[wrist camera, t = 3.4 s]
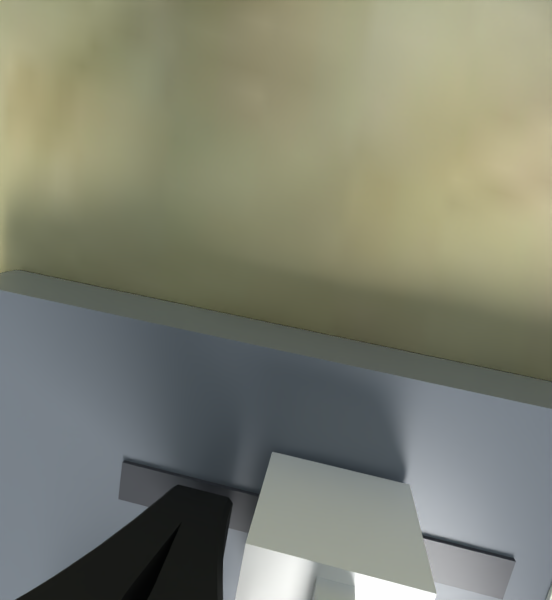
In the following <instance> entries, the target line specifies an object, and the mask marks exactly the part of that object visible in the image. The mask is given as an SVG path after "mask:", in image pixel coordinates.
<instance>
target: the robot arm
mask: <svg viewBox="0 0 552 600" xmlns="http://www.w3.org/2000/svg"><path fill="white" fill-rule="evenodd" d="M232 506H233V503H232V501H231V500H230V498H229V497H226V496H222V495H218V494H214V493H210V492H206V491H202V490H198V489H194V488H191V487H187V486H183V485H179V484H178V485H176V486H174V487H173V488H171V489H170V490H169V491H168V492H166V493H165V494H164V495H163V496H162V497H160V498H159V499H158V500H157V501H156V502H154V503H153V504H152V505H151V506H150V507H148V508H147V509H146V510H145V511H143V512H142V513H141V514H140V515H138V516H137V517H136V518H135V519H133V520H132V521H131V522H130V523H128V524H127V525H126V526H124V527H123V528H122V529H120V530H119V531H118V532H116V533H115V534H114V535H112V536H111V537H110V538H108V539H107V540H106V541H104V542H103V543H102V544H100V545H99V546H97V547H96V548H95V549H93V550H92V551H90V552H89V553H87V554H86V555H84V556H83V557H81V558H80V559H78V560H77V561H75V562H74V563H73V564H71V565H70V566H68V567H67V568H65V569H64V570H62V571H61V572H59V573H58V574H56V575H55V576H53V577H52V578H50V579H48V580H47V581H45V582H44V583H42V584H40V585H39V586H37V587H36V588H34V589H32V590H31V591H29V592H27V593H26V594H24V595H22V596H20V597H19V598H17V599H15V600H223V558H224V552H225V547H226V541H227V535H228V529H229V524H230V518H231V512H232Z"/></svg>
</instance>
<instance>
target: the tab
mask: <svg viewBox="0 0 552 600" xmlns="http://www.w3.org/2000/svg"><path fill="white" fill-rule="evenodd" d="M436 595H437V593H436V588H435V584H434V580H433V576H432V572H431V568H430V564H429V560H428V556H427V552H426V548H425V544H424V540H423V536H422V532H421V528H420V524H419V520H418V516H417V512H416V508H415V504H414V500H413V496H412V492H411V488H410V485H409V484H405V483H401V482H397V481H393V480H388V479H384V478H380V477H376V476H372V475H368V474H363V473H359V472H355V471H351V470H347V469H343V468H338V467H334V466H330V465H326V464H322V463H318V462H314V461H309V460H305V459H301V458H297V457H293V456H289V455H284V454H280V453H276V452H272V454H271V458H270V461H269V465H268V468H267V471H266V475H265V478H264V482H263V485H262V489H261V492H260V495H259V499H258V502H257V506H256V509H255V513H254V516H253V519H252V523H251V526H250V530H249V533H248V537H247V540H246V544H245V549H244V554H243V560H242V565H241V570H240V576H239V581H238V586H237V592H236V597H235V600H435V598H436Z"/></svg>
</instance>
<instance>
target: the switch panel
mask: <svg viewBox="0 0 552 600" xmlns="http://www.w3.org/2000/svg"><path fill="white" fill-rule="evenodd" d="M272 452H276V453H280V454H284V455H289V456H293V457H297V458H301V459H305V460H309V461H314V462H318V463H322V464H326V465H330V466H334V467H338V468H343V469H347V470H351V471H355V472H359V473H363V474H368V475H372V476H376V477H380V478H384V479H388V480H393V481H397V482H401V483H405V484H409V485H410V488H411V492H412V496H413V500H414V504H415V508H416V512H417V516H418V520H419V524H420V528H421V532H422V536H423V540H424V544H425V548H426V552H427V556H428V560H429V564H430V568H431V572H432V576H433V580H434V584H435V588H436V593H437V595H436V598H435V600H552V382H551V381H546V380H541V379H536V378H532V377H527V376H522V375H517V374H512V373H508V372H503V371H498V370H493V369H489V368H484V367H479V366H474V365H470V364H465V363H460V362H455V361H450V360H446V359H441V358H436V357H431V356H427V355H422V354H417V353H412V352H408V351H403V350H398V349H393V348H388V347H384V346H379V345H374V344H369V343H365V342H360V341H355V340H350V339H345V338H341V337H336V336H331V335H326V334H322V333H317V332H312V331H307V330H303V329H298V328H293V327H288V326H283V325H279V324H274V323H269V322H264V321H260V320H255V319H250V318H245V317H241V316H236V315H231V314H226V313H221V312H217V311H212V310H207V309H202V308H198V307H193V306H188V305H183V304H178V303H174V302H169V301H164V300H159V299H155V298H150V297H145V296H140V295H136V294H131V293H126V292H121V291H116V290H112V289H107V288H102V287H97V286H93V285H88V284H83V283H78V282H73V281H69V280H64V279H59V278H54V277H50V276H45V275H40V274H35V273H31V272H26V271H21V270H14V271H9V272H3V273H0V600H15V599H17V598H19V597H20V596H22V595H24V594H26V593H27V592H29V591H31V590H32V589H34V588H36V587H37V586H39V585H40V584H42V583H44V582H45V581H47V580H48V579H50V578H52V577H53V576H55V575H56V574H58V573H59V572H61V571H62V570H64V569H65V568H67V567H68V566H70V565H71V564H73V563H74V562H75V561H77V560H78V559H80V558H81V557H83V556H84V555H86V554H87V553H89V552H90V551H92V550H93V549H95V548H96V547H97V546H99V545H100V544H102V543H103V542H104V541H106V540H107V539H108V538H110V537H111V536H112V535H114V534H115V533H116V532H118V531H119V530H120V529H122V528H123V527H124V526H126V525H127V524H128V523H130V522H131V521H132V520H133V519H135V518H136V517H137V516H138V515H140V514H141V513H142V512H143V511H145V510H146V509H147V508H148V507H150V506H151V505H152V504H153V503H154V502H156V501H157V500H158V499H159V498H160V497H162V496H163V495H164V494H165V493H166V492H168V491H169V490H170V489H171V488H173V487H174V486H176V485H178V484H179V485H183V486H187V487H191V488H194V489H198V490H202V491H206V492H210V493H214V494H218V495H222V496H226V497H229V498H230V500H231V501H232V503H233V506H232V512H231V518H230V524H229V529H228V535H227V541H226V547H225V552H224V558H223V600H235V597H236V592H237V586H238V581H239V576H240V570H241V565H242V560H243V554H244V549H245V544H246V540H247V537H248V533H249V530H250V526H251V523H252V519H253V516H254V513H255V509H256V506H257V502H258V499H259V495H260V492H261V489H262V485H263V482H264V478H265V475H266V471H267V468H268V465H269V461H270V458H271V454H272Z"/></svg>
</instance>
